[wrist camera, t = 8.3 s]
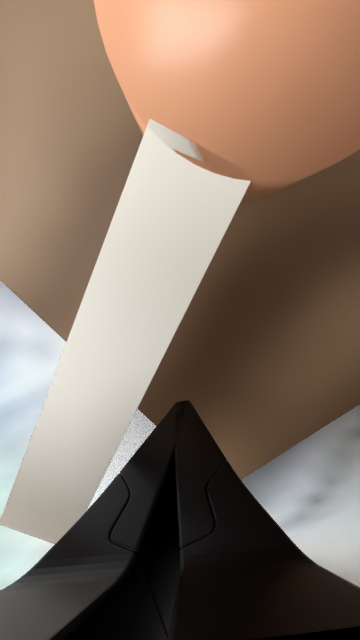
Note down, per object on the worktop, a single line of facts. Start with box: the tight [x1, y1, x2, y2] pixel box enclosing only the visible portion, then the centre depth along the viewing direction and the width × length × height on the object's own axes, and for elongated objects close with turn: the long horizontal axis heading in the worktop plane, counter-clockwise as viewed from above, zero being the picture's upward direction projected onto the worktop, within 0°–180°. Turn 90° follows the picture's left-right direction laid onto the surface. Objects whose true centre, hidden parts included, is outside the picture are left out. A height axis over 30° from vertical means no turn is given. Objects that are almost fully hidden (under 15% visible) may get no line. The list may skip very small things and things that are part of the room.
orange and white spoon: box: [0, 0, 360, 544], centre depth 7 cm, size 16×6×3 cm, turn 155°
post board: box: [0, 0, 360, 480], centre depth 9 cm, size 24×20×3 cm
